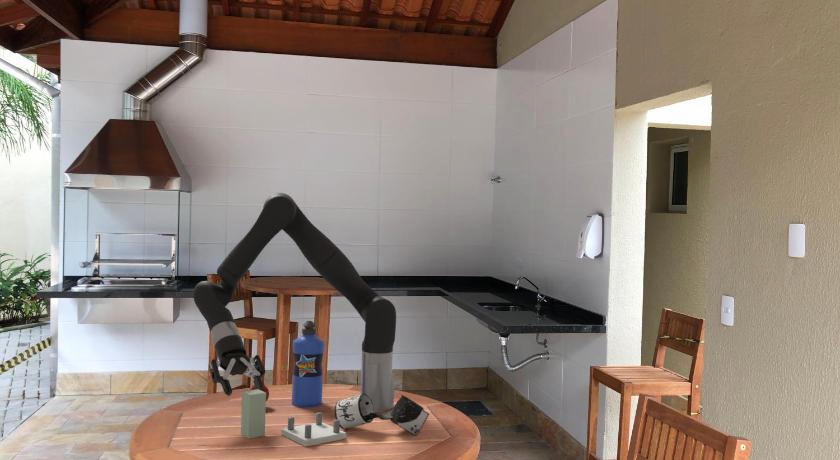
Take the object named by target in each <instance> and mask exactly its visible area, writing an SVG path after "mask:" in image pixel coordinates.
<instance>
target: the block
mask: <svg viewBox="0 0 840 460" xmlns="http://www.w3.org/2000/svg"><path fill="white" fill-rule="evenodd" d="M266 407H267V401H266V392H263V391H261V390H258V389H256V390H250V389H249V390H242V391H241V412H240V414H241V416H240V418H241V419H240V435H241V436H244V437H246V438H248V439H253V438H258V437H259V438H260V437H263V436H266V435H265V434H266V412H267V411H266Z"/></svg>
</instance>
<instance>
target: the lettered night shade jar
mask: <svg viewBox="0 0 840 460" xmlns="http://www.w3.org/2000/svg"><path fill="white" fill-rule="evenodd" d="M360 394H361V393H360ZM360 394H357V395H354V396H351V397H348V398H345V399H341V400H339V401H336V403H335V406H334V417H335V420H340V428H341V429H342V430H349V429H352V428H357V427H359V426H363V425H367V424H370V423H372V422H373V421H374V419H376V418H377V419H380V420H384V421H387V420H390V421H391V422H392V424H393V425H396V426H398V427H400V428H402V429H403V430H404V431H406V432H408V433H410V434H411V435H412V436H415V437H417V436H418V434H419V432H420V431H421V429H422V428H423V426H424V424H425V423H426V421H427V419H428V417H429V415H430V413H429V412H427V411H426V410H425V408H424V407H423V406H421V404H418V403H417V402H415V401H414V400H413V399H411V398H409V397H407V396H405V395H402V394H401V396H400V397H399V399H398V400H397V401H396V403H394V407H393V408H392V409H391V411H390V412H387V413H382V412H374V407H373V404H372V401H371V400H370V398H369V397H368V396H367V395H366V394H361V395H360Z"/></svg>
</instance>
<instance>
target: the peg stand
mask: <svg viewBox="0 0 840 460" xmlns="http://www.w3.org/2000/svg"><path fill="white" fill-rule="evenodd" d="M332 422H333V423H332V424H333V425H329V424H327V423H324V422H323V412H316V413H315V422H313V423H308V424H300V425H295V417H293V416H289V417H288V418H287V427H284V428H281V431H280V432H281V433H280V434H281V436H283V437H285V438H287V439H289V440H291V441H293V442H295V443H297V444H299V445H302V446H304V447H310V446H314V445H319V444H324V443H330V442H336V441H340V440H346V439H347V432H345V431H343V430H340V428H341V427H340V420H336V419H333V421H332Z"/></svg>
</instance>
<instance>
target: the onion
mask: <svg viewBox="0 0 840 460" xmlns="http://www.w3.org/2000/svg"><path fill="white" fill-rule="evenodd" d="M249 390H256V387H255V385H252V387H250V389H249ZM261 391H263V392H266V402H268V400H269V397H270V391H269V388H268V387H267V386H266V384H264V383H263V388H262V390H261Z"/></svg>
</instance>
